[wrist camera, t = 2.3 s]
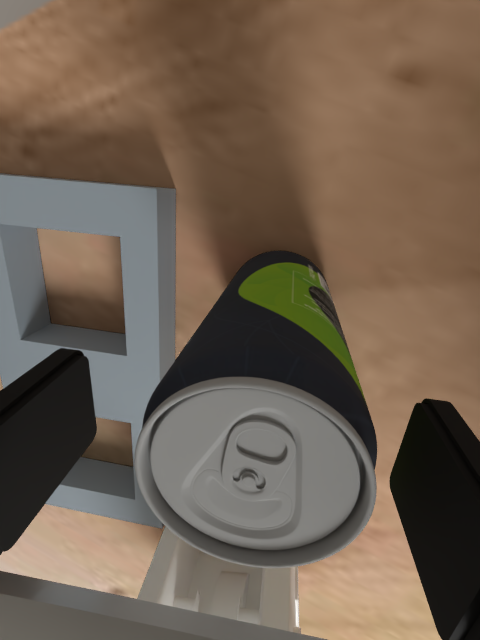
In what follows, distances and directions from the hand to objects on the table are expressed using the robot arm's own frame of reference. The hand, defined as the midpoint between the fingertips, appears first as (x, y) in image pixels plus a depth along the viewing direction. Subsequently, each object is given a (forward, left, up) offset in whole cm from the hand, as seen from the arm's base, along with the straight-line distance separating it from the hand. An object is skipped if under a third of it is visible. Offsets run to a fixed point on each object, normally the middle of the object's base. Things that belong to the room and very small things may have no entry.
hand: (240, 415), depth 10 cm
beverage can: (-1, 0, -13) cm, 13 cm away
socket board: (+12, +7, -13) cm, 19 cm away
